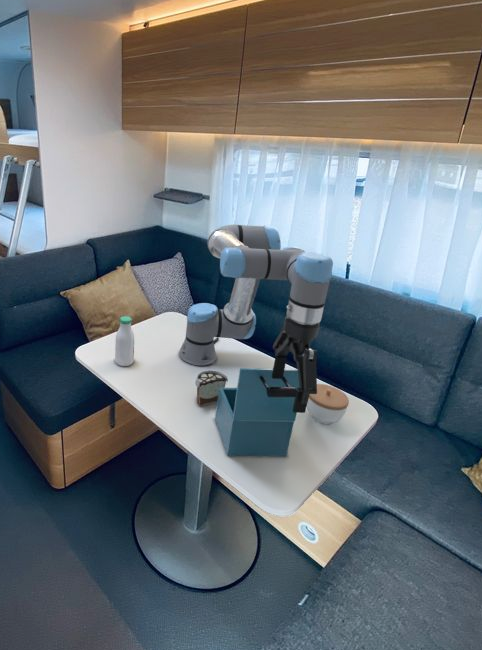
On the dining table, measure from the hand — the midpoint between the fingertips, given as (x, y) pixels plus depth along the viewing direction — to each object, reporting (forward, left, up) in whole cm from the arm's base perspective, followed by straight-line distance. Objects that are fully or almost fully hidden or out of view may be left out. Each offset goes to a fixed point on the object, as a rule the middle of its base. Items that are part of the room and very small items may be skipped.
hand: (287, 393), depth 103 cm
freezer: (-15, -9, -30) cm, 35 cm away
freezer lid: (-9, -5, -8) cm, 13 cm away
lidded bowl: (-38, +11, -30) cm, 50 cm away
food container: (-27, -27, -30) cm, 49 cm away
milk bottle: (-33, -64, -30) cm, 78 cm away
